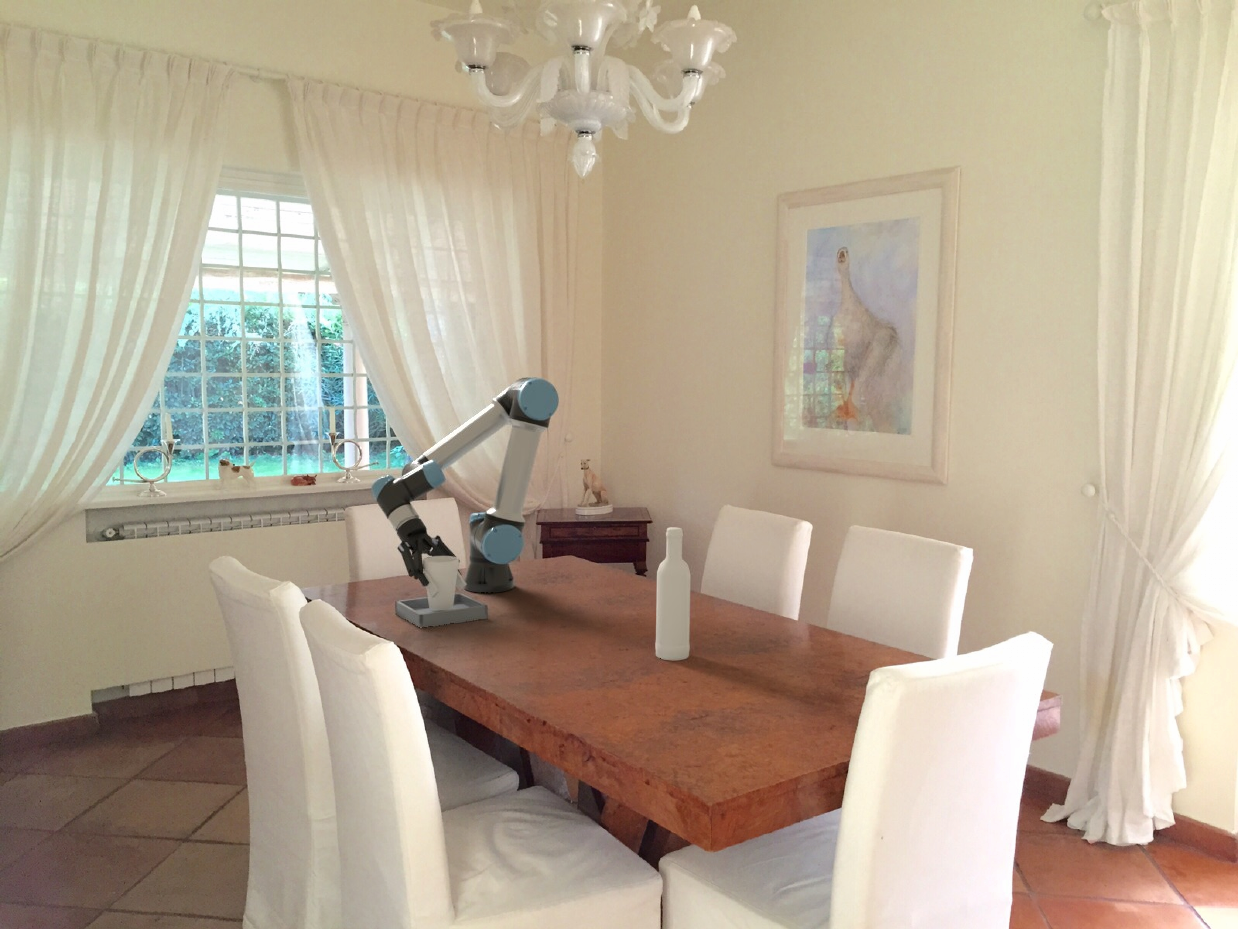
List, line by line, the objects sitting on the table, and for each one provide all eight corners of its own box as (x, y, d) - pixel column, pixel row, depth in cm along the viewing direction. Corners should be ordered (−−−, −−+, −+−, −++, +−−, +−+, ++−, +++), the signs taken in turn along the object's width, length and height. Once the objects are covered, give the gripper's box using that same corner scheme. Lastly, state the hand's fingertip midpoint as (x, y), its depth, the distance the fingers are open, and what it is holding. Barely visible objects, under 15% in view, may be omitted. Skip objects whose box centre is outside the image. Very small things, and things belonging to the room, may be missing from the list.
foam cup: (463, 603, 260) (463, 556, 258) (454, 612, 250) (453, 563, 249) (429, 602, 260) (428, 555, 259) (418, 610, 251) (418, 562, 250)
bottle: (683, 662, 218) (686, 532, 215) (650, 658, 220) (652, 529, 217) (693, 653, 225) (695, 527, 222) (661, 649, 228) (663, 524, 225)
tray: (460, 605, 268) (460, 592, 268) (487, 618, 254) (487, 605, 254) (395, 614, 257) (395, 601, 257) (420, 628, 243) (419, 615, 243)
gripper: (431, 528, 271) (471, 591, 264) (369, 539, 254) (411, 607, 246) (444, 512, 268) (485, 575, 260) (382, 521, 250) (425, 590, 242)
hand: (449, 591), depth 253 cm, fingers closed on foam cup, 9 cm apart
